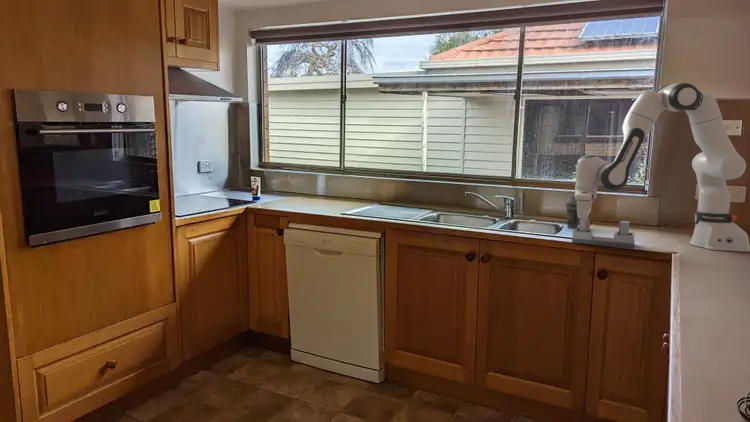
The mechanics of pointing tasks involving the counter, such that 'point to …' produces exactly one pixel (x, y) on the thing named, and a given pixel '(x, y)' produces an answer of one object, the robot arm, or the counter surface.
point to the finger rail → (603, 239)
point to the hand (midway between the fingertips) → (583, 225)
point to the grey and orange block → (585, 226)
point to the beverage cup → (572, 212)
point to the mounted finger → (624, 227)
